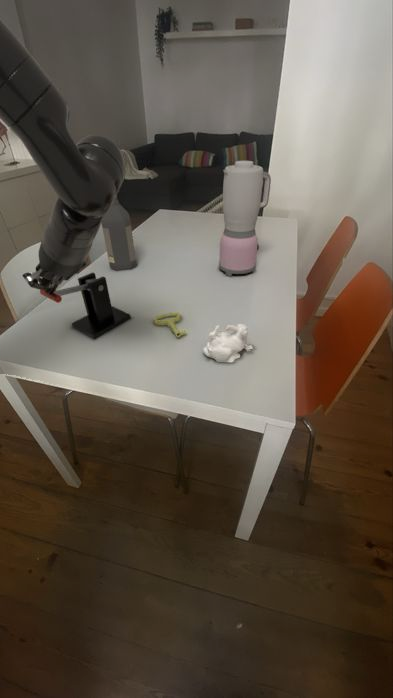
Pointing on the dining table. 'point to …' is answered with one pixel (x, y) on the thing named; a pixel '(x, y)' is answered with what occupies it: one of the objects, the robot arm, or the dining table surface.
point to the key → (170, 322)
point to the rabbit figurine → (227, 343)
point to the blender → (241, 216)
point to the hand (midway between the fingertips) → (48, 289)
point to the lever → (66, 291)
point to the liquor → (119, 238)
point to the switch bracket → (98, 309)
